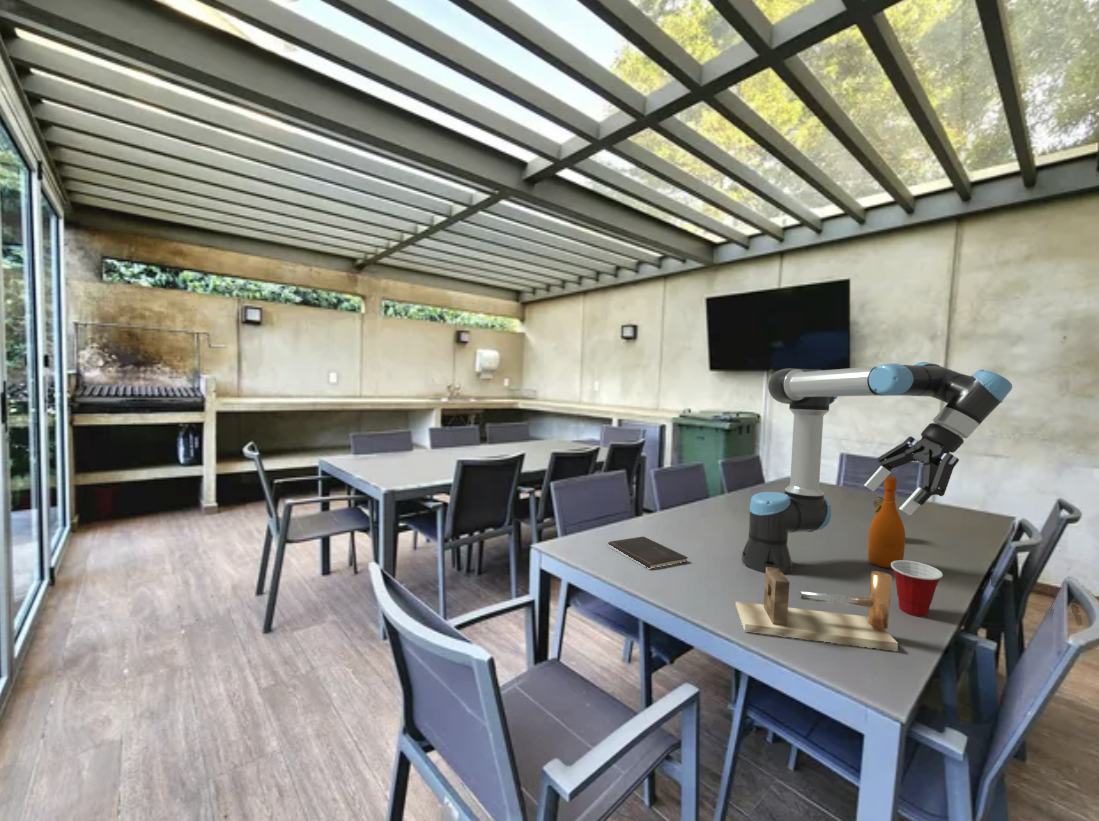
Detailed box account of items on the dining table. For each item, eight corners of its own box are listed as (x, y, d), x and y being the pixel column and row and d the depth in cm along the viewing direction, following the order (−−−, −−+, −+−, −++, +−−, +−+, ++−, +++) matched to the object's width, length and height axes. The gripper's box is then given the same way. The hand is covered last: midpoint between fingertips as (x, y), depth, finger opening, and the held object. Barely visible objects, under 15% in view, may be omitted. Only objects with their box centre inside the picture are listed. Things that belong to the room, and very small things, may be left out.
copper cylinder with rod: (802, 619, 112) (805, 569, 111) (796, 611, 116) (799, 563, 115) (891, 629, 108) (895, 578, 107) (883, 621, 112) (886, 572, 111)
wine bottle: (888, 559, 163) (894, 474, 162) (910, 570, 153) (917, 479, 152) (860, 558, 163) (866, 473, 161) (881, 570, 153) (887, 479, 151)
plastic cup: (883, 610, 124) (886, 566, 123) (891, 598, 132) (894, 556, 131) (936, 626, 116) (940, 579, 116) (941, 612, 124) (945, 568, 123)
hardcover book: (643, 542, 174) (643, 536, 174) (687, 564, 154) (688, 557, 154) (607, 548, 167) (607, 541, 167) (649, 571, 147) (649, 564, 147)
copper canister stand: (744, 632, 111) (747, 580, 110) (735, 608, 122) (737, 561, 122) (897, 651, 104) (901, 596, 104) (871, 625, 116) (875, 575, 115)
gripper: (1007, 457, 99) (934, 532, 104) (922, 424, 124) (866, 486, 128) (980, 438, 99) (908, 515, 104) (900, 409, 123) (845, 472, 128)
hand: (885, 499), depth 116 cm, fingers open, 13 cm apart
